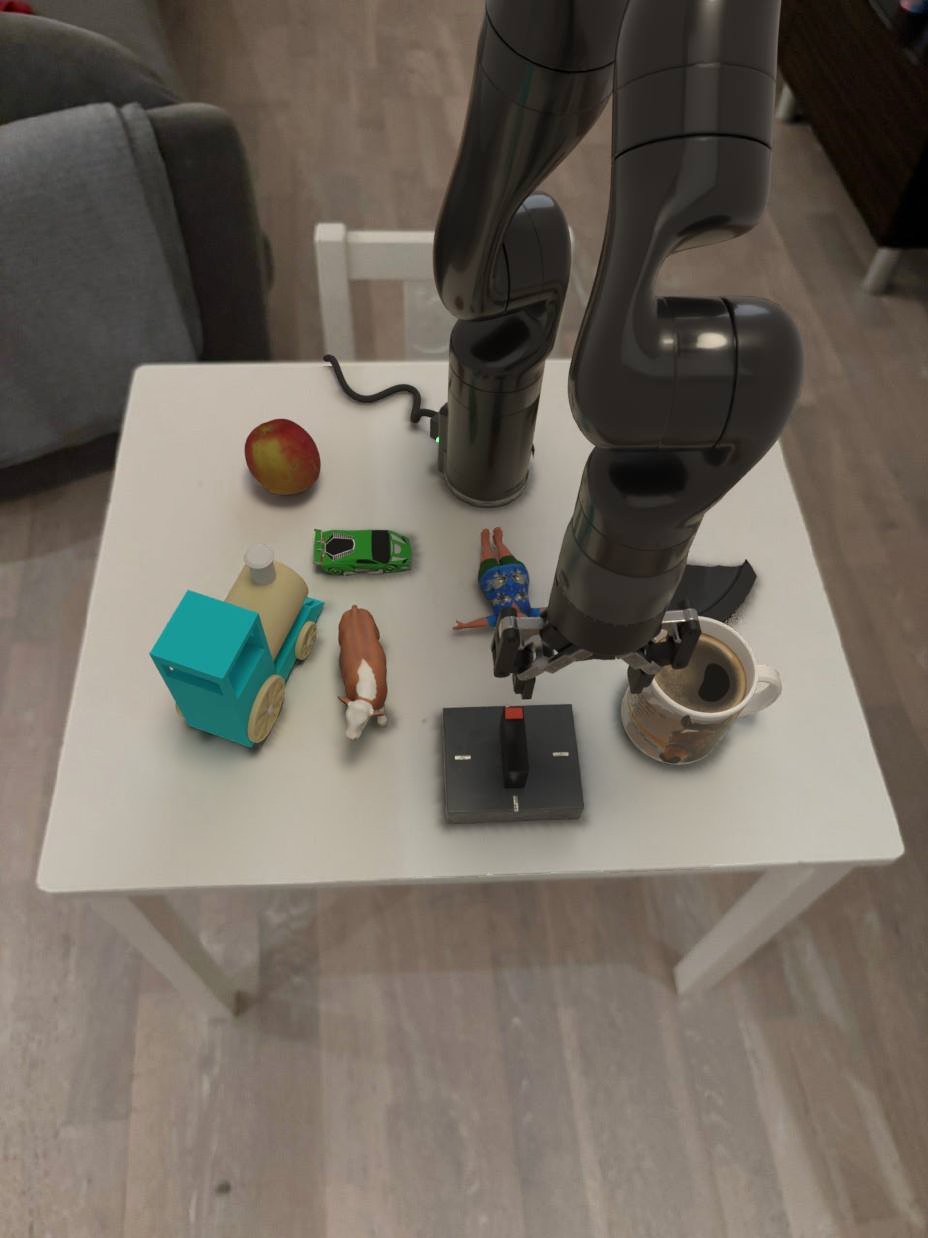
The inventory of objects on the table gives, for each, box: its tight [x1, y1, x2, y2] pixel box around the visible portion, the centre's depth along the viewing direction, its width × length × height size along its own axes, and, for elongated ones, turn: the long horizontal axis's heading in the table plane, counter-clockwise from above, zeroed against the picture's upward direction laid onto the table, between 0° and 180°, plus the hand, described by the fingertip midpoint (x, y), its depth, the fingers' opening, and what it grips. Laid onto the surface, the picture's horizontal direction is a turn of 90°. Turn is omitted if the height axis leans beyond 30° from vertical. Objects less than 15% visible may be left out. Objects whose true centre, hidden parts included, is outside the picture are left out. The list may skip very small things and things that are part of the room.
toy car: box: [312, 528, 413, 576], centre depth 94 cm, size 10×5×2 cm, turn 94°
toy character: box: [452, 526, 548, 631], centre depth 90 cm, size 12×5×15 cm
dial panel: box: [441, 703, 585, 824], centre depth 82 cm, size 12×10×3 cm
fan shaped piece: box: [667, 558, 758, 624], centre depth 93 cm, size 8×14×2 cm, turn 108°
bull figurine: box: [337, 604, 389, 741], centre depth 83 cm, size 4×13×8 cm, turn 5°
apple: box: [243, 418, 322, 496], centre depth 96 cm, size 8×8×8 cm
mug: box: [620, 616, 783, 766], centre depth 82 cm, size 10×12×11 cm
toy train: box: [148, 543, 326, 749], centre depth 81 cm, size 8×17×15 cm, turn 161°
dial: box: [500, 707, 529, 788], centre depth 79 cm, size 6×2×4 cm, turn 3°
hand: (578, 686), depth 70 cm, fingers open, 8 cm apart
